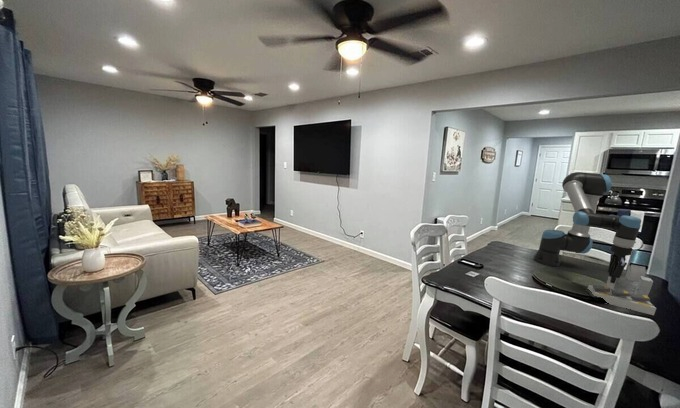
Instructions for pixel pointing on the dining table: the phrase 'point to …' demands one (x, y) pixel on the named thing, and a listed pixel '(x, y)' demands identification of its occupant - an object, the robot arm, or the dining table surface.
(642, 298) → the rocker
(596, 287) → the rocker
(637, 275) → the grey box
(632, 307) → the switch unit
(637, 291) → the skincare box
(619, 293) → the rocker
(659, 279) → the dining table surface
